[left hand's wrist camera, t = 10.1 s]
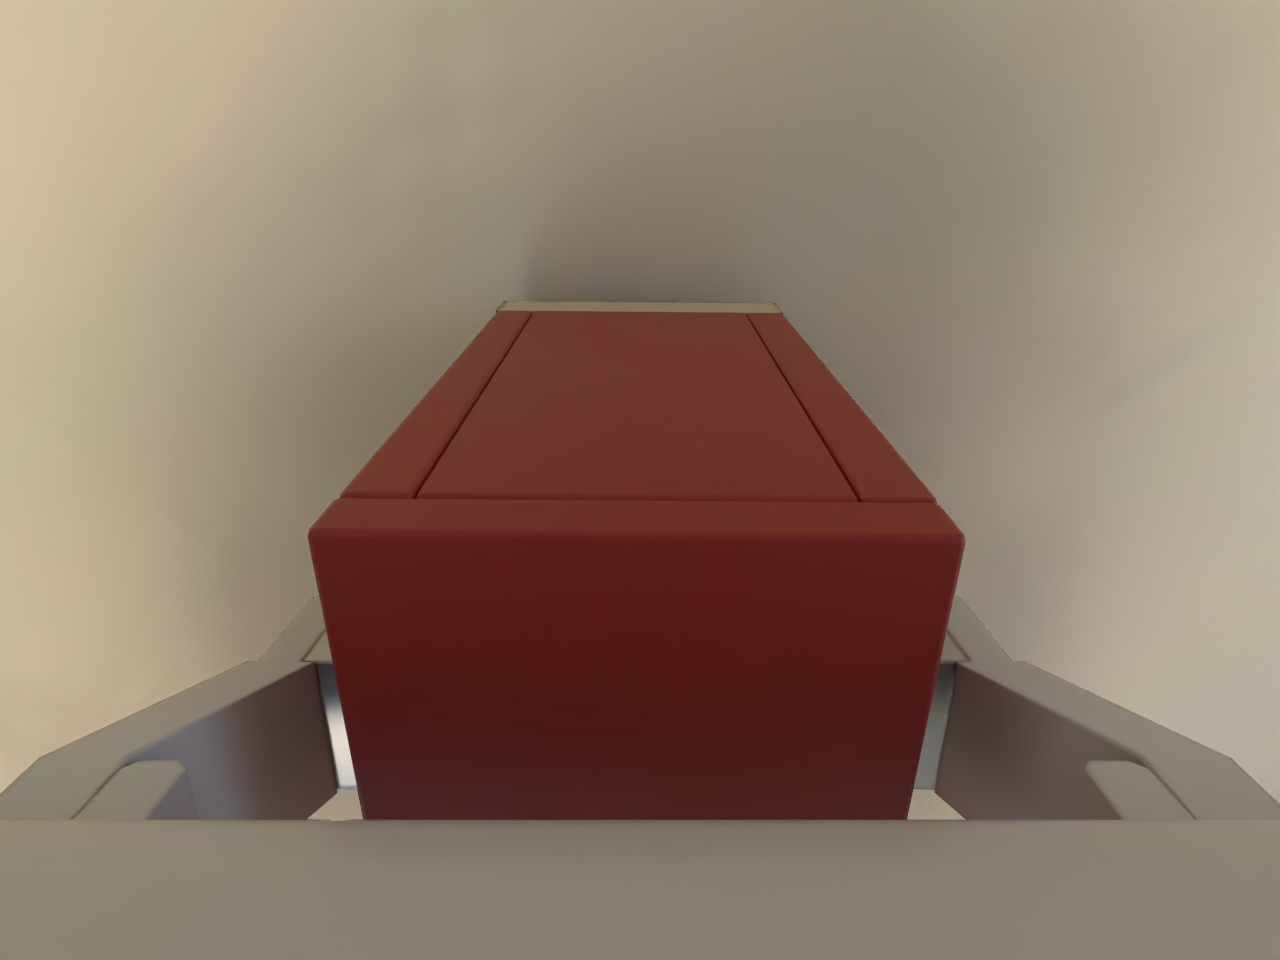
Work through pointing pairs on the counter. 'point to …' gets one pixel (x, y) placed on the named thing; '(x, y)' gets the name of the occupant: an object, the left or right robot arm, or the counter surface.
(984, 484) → the counter surface
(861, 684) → the cabinet
